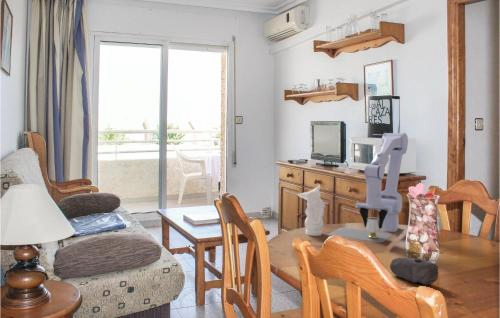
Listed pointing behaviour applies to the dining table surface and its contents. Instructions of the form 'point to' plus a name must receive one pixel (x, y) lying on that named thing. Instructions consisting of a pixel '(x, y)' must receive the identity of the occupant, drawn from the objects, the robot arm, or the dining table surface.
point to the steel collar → (372, 224)
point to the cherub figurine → (313, 211)
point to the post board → (361, 234)
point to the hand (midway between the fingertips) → (373, 227)
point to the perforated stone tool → (415, 270)
